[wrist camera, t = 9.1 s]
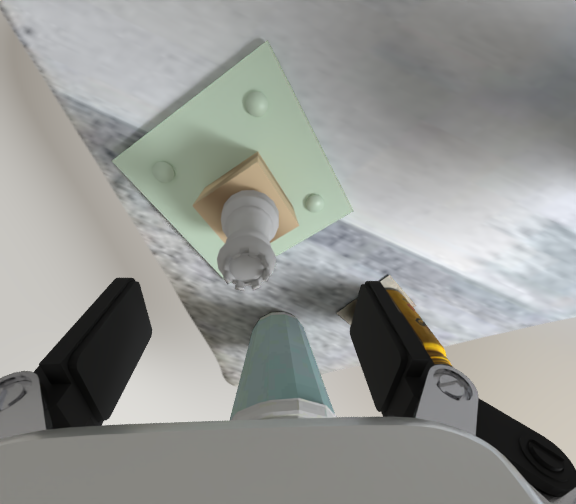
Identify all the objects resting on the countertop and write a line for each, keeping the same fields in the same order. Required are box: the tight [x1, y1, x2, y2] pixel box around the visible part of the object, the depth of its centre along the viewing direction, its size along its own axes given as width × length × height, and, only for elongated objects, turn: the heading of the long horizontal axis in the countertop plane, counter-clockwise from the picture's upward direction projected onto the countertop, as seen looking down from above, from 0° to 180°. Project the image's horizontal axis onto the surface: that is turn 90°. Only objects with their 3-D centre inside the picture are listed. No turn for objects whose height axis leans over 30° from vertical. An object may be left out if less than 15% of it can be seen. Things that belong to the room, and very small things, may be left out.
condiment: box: [336, 275, 453, 368], centre depth 30 cm, size 7×8×12 cm
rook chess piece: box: [217, 190, 279, 291], centre depth 17 cm, size 4×4×8 cm
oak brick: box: [193, 152, 299, 243], centre depth 22 cm, size 6×6×5 cm
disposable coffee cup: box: [230, 312, 337, 421], centre depth 28 cm, size 11×11×15 cm
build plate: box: [112, 40, 353, 284], centre depth 24 cm, size 16×16×1 cm
